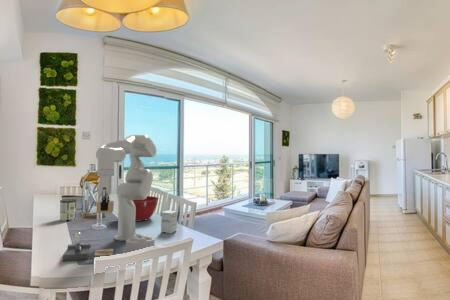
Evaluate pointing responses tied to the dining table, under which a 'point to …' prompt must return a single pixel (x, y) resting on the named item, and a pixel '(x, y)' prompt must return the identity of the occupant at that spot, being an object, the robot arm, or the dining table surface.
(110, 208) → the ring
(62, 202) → the coffee can
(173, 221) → the supplement box
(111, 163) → the robot arm
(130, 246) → the lumpy-topped squat cylinder
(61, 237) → the dining table surface
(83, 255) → the vise block
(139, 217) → the mixing bowl
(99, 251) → the cork pad
